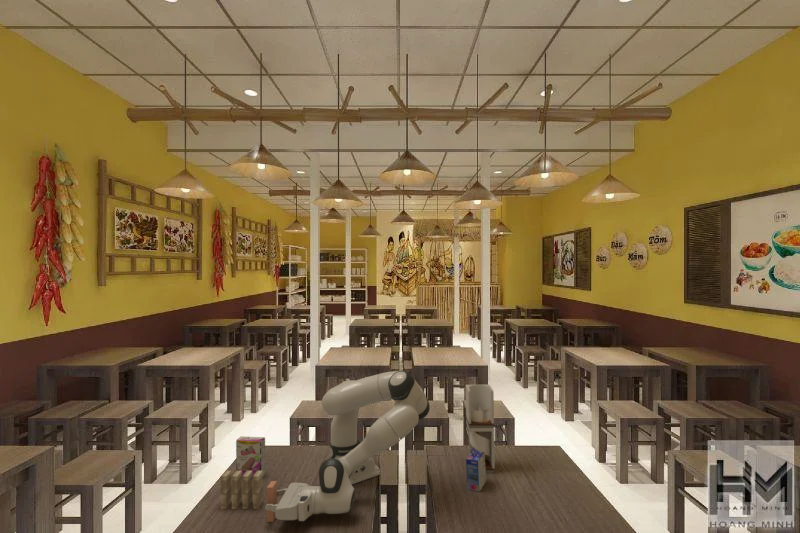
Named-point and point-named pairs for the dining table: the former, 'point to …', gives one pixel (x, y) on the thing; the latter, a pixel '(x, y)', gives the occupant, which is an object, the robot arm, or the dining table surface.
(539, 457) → the dining table surface
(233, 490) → the cream domino
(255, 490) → the cream domino
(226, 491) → the cream domino
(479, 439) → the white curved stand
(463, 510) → the dining table surface
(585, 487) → the dining table surface
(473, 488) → the ink cartridge box
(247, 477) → the cream domino
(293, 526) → the dining table surface
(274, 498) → the terracotta domino
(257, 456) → the candy bar box
